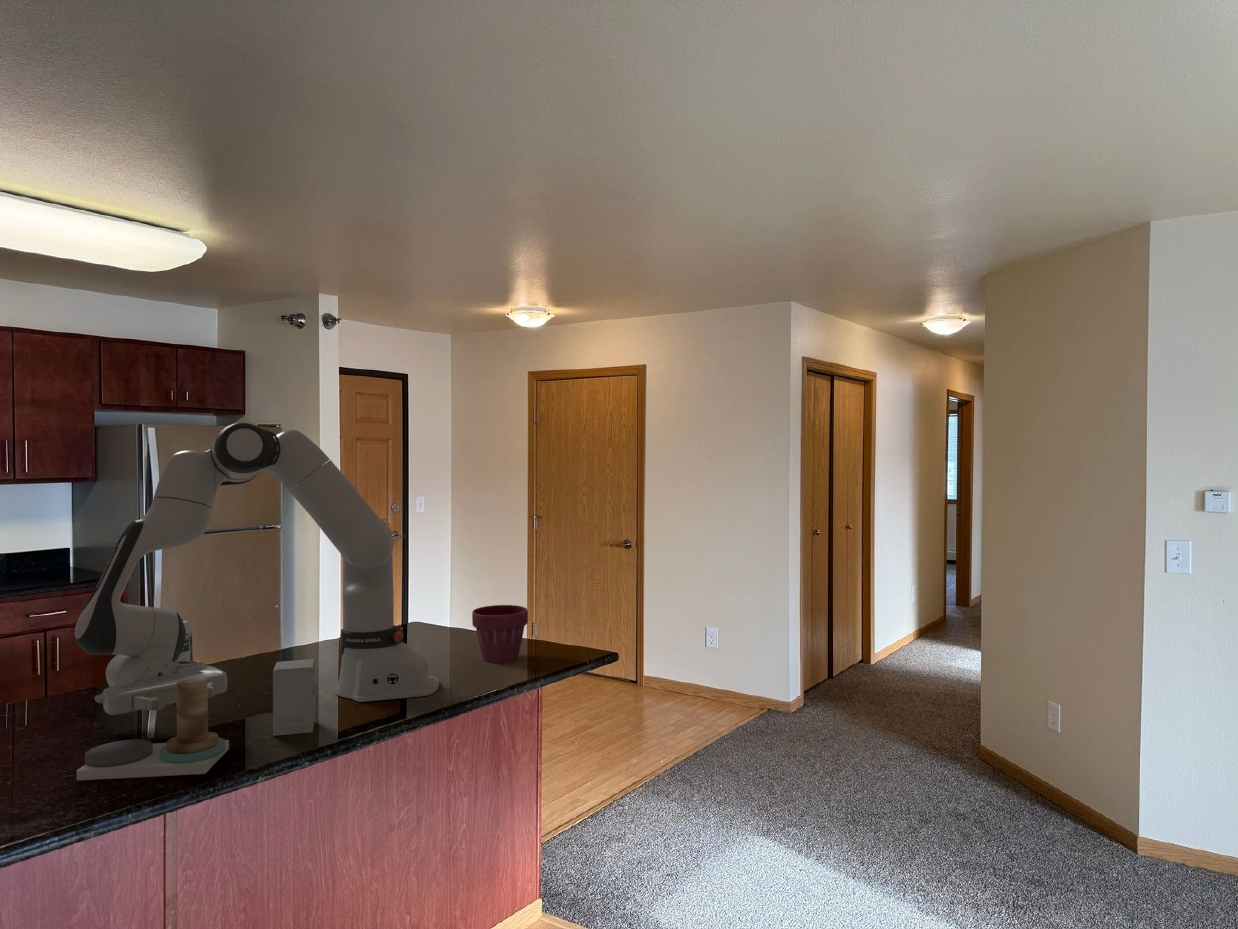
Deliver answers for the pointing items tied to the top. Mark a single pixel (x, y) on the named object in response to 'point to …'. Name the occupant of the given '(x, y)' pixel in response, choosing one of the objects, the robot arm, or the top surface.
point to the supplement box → (293, 697)
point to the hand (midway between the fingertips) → (182, 699)
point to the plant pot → (500, 631)
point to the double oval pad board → (146, 760)
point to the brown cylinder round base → (192, 719)
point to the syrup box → (187, 643)
